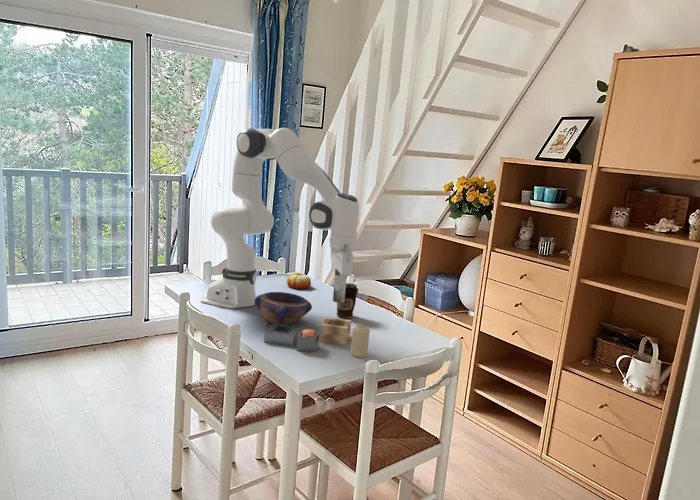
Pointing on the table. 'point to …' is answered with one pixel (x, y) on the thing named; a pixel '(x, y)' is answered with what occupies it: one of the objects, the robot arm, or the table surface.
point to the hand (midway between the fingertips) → (340, 282)
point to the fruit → (298, 281)
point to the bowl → (282, 307)
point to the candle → (360, 341)
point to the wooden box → (335, 331)
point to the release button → (308, 333)
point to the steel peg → (338, 289)
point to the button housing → (307, 342)
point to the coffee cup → (348, 302)
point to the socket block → (282, 334)
